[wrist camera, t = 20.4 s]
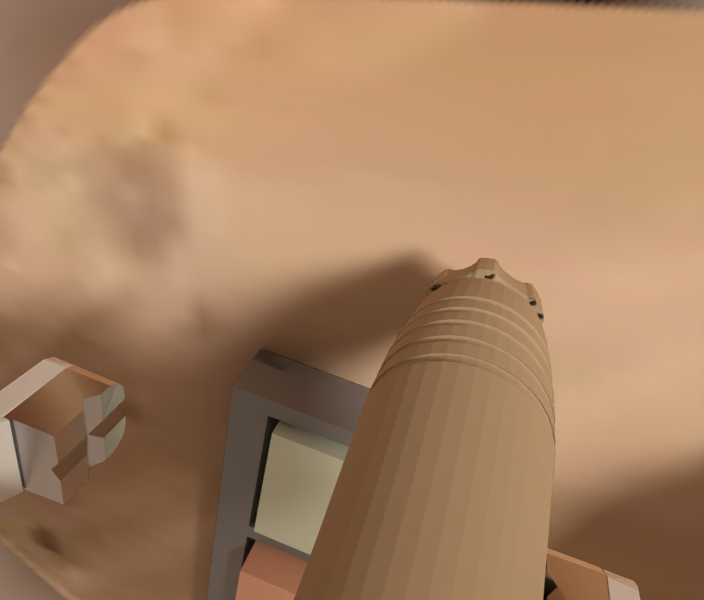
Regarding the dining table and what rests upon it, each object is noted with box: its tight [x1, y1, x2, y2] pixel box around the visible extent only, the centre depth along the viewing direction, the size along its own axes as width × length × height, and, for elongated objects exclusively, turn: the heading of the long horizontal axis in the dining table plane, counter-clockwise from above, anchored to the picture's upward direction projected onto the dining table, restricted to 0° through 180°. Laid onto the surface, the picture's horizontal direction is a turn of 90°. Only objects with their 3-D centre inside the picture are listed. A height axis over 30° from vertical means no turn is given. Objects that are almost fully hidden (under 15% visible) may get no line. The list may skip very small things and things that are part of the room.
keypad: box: [207, 349, 370, 600], centre depth 28 cm, size 25×10×3 cm, turn 168°
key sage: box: [254, 420, 349, 555], centre depth 23 cm, size 6×6×2 cm
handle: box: [294, 258, 556, 600], centre depth 10 cm, size 5×6×15 cm
